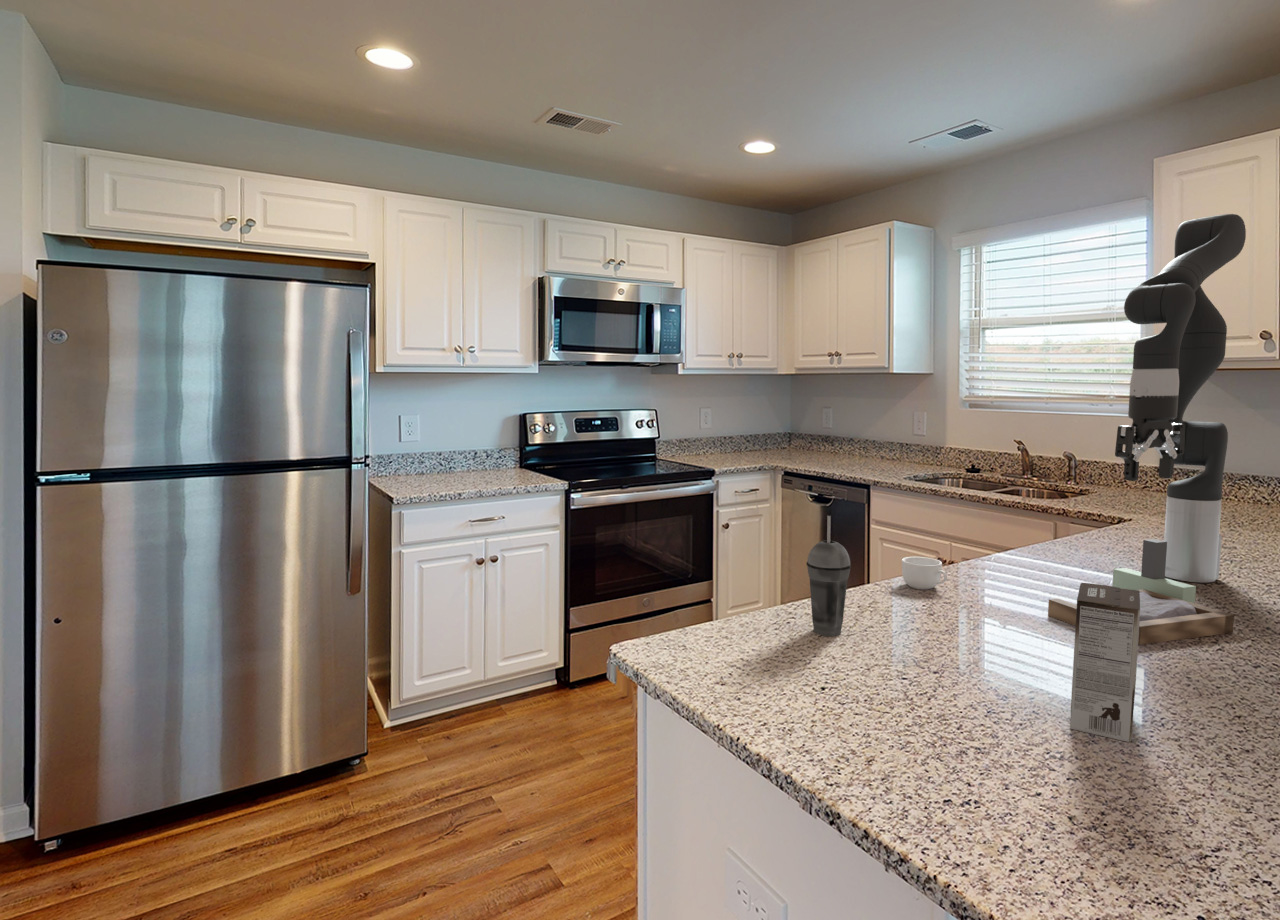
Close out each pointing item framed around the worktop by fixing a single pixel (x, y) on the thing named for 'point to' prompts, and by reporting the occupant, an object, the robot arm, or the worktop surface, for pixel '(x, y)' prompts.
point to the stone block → (1163, 608)
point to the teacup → (922, 572)
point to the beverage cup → (828, 584)
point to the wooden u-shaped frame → (1161, 621)
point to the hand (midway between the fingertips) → (1148, 479)
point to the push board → (1153, 585)
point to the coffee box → (1105, 661)
